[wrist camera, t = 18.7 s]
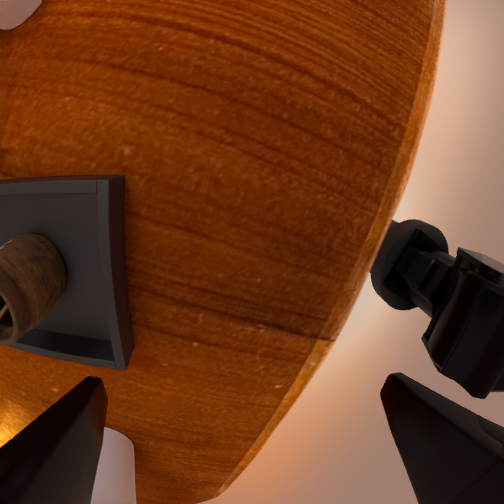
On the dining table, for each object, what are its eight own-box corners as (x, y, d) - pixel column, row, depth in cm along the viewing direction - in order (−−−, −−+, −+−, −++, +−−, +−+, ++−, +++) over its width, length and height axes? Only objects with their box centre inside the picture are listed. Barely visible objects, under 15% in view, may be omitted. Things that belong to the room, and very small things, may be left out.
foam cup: (136, 465, 28) (128, 545, 16) (71, 440, 26) (50, 518, 13) (155, 437, 26) (147, 537, 14) (77, 406, 23) (46, 503, 11)
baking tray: (124, 174, 17) (109, 179, 14) (134, 347, 22) (126, 371, 19) (-28, 183, 15) (-49, 189, 12) (-3, 322, 19) (-18, 338, 16)
